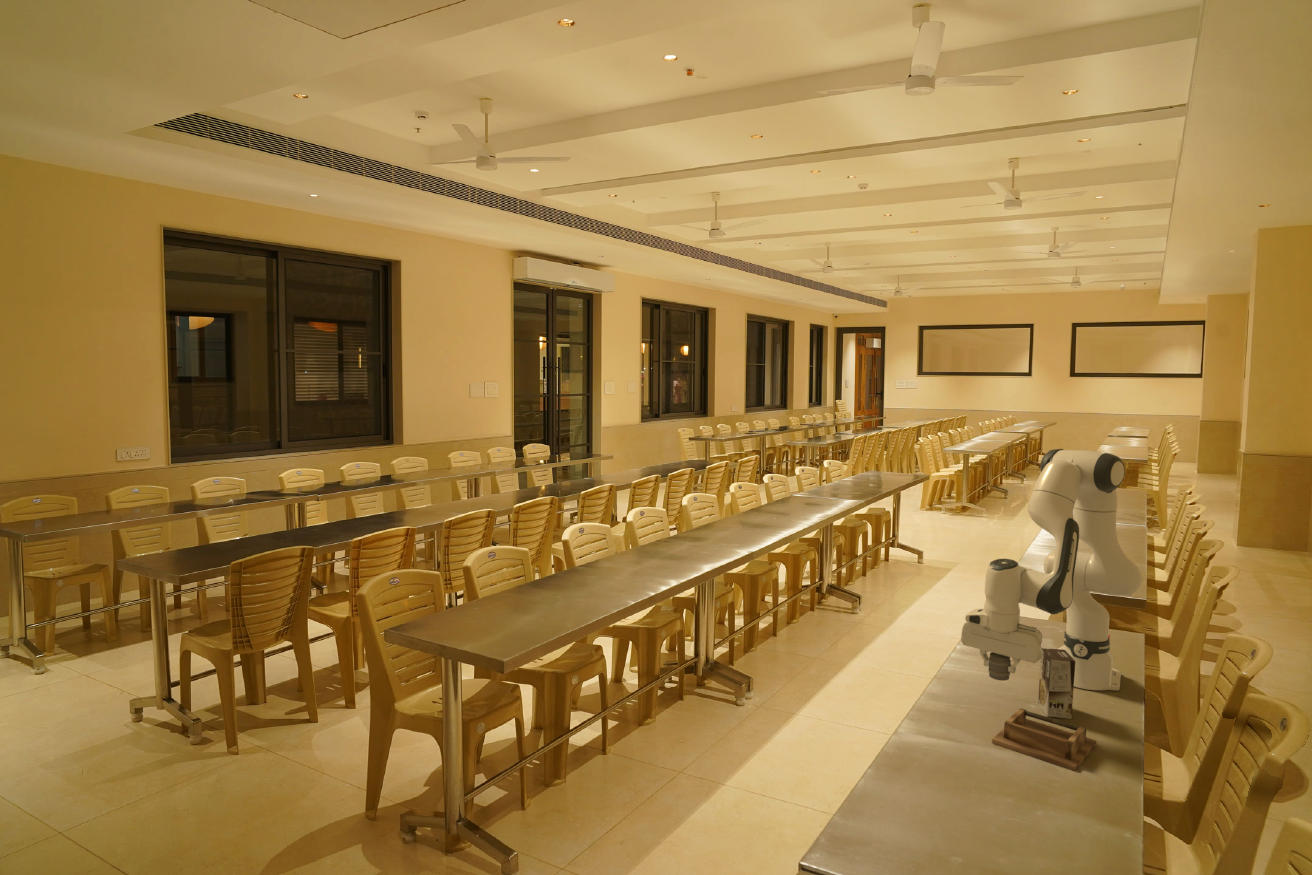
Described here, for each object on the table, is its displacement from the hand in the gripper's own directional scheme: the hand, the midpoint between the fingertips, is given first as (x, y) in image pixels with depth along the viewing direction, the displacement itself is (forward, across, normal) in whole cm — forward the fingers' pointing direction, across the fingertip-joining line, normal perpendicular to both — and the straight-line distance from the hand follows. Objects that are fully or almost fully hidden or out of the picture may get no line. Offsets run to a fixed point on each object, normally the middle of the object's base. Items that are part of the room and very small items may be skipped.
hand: (999, 668), depth 209 cm
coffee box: (+13, -11, -12) cm, 21 cm away
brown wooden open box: (+12, -15, +10) cm, 22 cm away
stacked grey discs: (+2, 0, 0) cm, 2 cm away
